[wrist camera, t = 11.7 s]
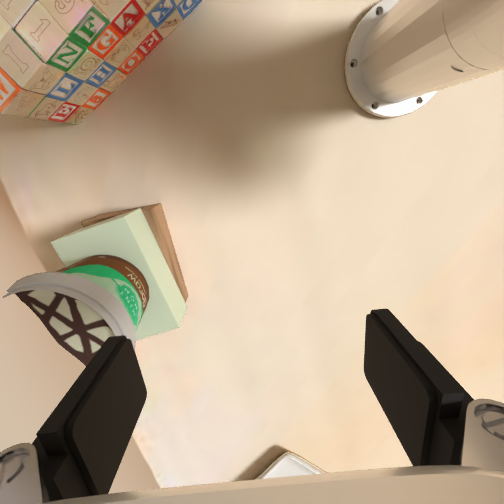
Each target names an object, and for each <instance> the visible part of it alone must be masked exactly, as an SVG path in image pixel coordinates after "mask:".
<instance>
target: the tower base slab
mask: <svg viewBox="0 0 504 504" xmlns="http://www.w3.org/2000/svg"><path fill="white" fill-rule="evenodd" d="M139 208H141V210H142V212H143V214H144V216H145V219H146V221H147V223H148V225H149V227H150V229H151V231H152V233H153V235H154V238H155V240H156V242H157V244H158V246H159V248H160V250H161V252H162V254H163V257H164V259H165V261H166V263H167V265H168V267H169V269H170V271H171V274H172V276H173V278H174V280H175V282H176V284H177V286H178V288H179V290H180V293H181V295H182V297H183V299H184V301H185V302H186V300H187V297H188V293H187V289H186V286H185V283H184V279H183V276H182V272H181V269H180V266H179V262H178V259H177V256H176V252H175V249H174V246H173V242H172V239H171V236H170V232H169V229H168V225H167V222H166V219H165V215H164V212H163V209H162V205H161V203H159V204H154V205H148V206H143V207H138V208H133V209H127V210H122V211H117V212H112V213H106V214H101V215H98V216H96V217H93V218H91V219H89V220H86V221H84V222H82V225H83V227H86V226H89V225H92V224H95V223H98V222H101V221H104V220H107V219H110V218H113V217H116V216H118V215H121V214H124V213H127V212H130V211H133V210H136V209H139Z"/></svg>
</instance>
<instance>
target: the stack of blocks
mask: <svg viewBox="0 0 504 504" xmlns="http://www.w3.org/2000/svg"><path fill="white" fill-rule="evenodd" d="M201 1H202V0H0V113H2V114H9V115H16V116H25V117H27V118H34V119H40V120H51V121H59V122H65V123H69V124H80V123H81V122H82V121H83V120H84V119H85V118H86V117H87V116H88V115H89V114H90V113H91V112H92V111H93V110H94V109H96V108H97V107H98V106H99V105H100V104H101V103H102V102H103V101H104V100H105V99H106V98H107V97H108V96H109V95H110V94H111V93H112V92H113V91H114V90H115V89H116V88H117V87H118V86H119V85H120V84H121V83H122V82H123V81H124V80H125V79H126V78H127V77H128V74H129V73H131V72H132V70H133V69H134V68H135V67H136V66H137V65H138V64H139V63H140V62H141V61H142V60H143V59H144V58H145V56H147V54H148V53H150V52H151V51H152V50H153V49H154V48H155V46H156V45H158V43H159V42H160V41H161V40H162V39H165V38H166V37H167V36H168V35H169V34H170V33H171V32H172V31H173V30H174V29H175V28H176V27H177V26H178V25H179V24H180V23H181V22H182V20H183V19H184V18H185V17H186V16H187V15H188V14H189V13H190V12H191V11H192V10H193V9H194V8H195V7H196V6H197V5H198V4H199V3H200V2H201Z"/></svg>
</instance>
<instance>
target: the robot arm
mask: <svg viewBox="0 0 504 504" xmlns="http://www.w3.org/2000/svg"><path fill="white" fill-rule="evenodd" d="M375 12H376V13H377V14H378V16H377V15H376V13H375ZM350 63H352V64H353V67H351V66H350ZM500 70H504V0H381V1H380V2H378V3H377V4H376V5H374V6H373V7H372V8H371V9H370V10H369V11H368V12H367V13H366V14H365V16H364V17H363V18H362V19H361V21H360V22H359V23H358V25H357V26H356V28H355V30H354V32H353V34H352V36H351V38H350V41H349V44H348V47H347V51H346V56H345V77H346V82H347V86H348V89H349V91H350V93H351V95H352V97H353V99H354V100H355V101H356V103H357V104H358V105H359V106H360V107H361V108H362V109H364V110H365V111H366V112H368V113H370V114H372V115H374V116H378V117H383V118H393V117H398V116H402V115H405V114H409V113H411V112H413V111H415V110H417V109H419V108H420V107H421V106H423V105H424V104H425V103H427V102H428V101H429V100H430V99H431V98H432V97H433V96H434V94H435V93H436V92H437V91H438V90H441V89H444V88H448V87H451V86H454V85H457V84H460V83H463V82H466V81H469V80H472V79H476V78H479V77H482V76H485V75H488V74H491V73H494V72H497V71H500ZM416 100H417V103H416ZM372 105H374V107H373V109H372ZM364 373H365V376H366V379H367V381H368V382H369V384H370V386H371V388H372V390H373V392H374V394H375V396H376V397H377V399H378V401H379V403H380V405H381V407H382V409H383V411H384V412H385V414H386V416H387V418H388V420H389V422H390V424H391V425H392V427H393V429H394V431H395V433H396V435H397V437H398V439H399V440H400V442H401V444H402V446H403V448H404V450H405V452H406V453H407V455H408V457H409V459H410V461H411V463H412V465H413V466H411V467H396V468H381V469H368V470H356V471H345V472H334V473H322V474H311V475H299V476H288V477H277V478H266V479H255V480H245V481H234V482H223V483H213V484H202V485H192V486H182V487H172V488H162V489H152V490H143V491H132V492H122V493H114V494H108V492H109V490H110V488H111V485H112V482H113V480H114V478H115V475H116V473H117V470H118V468H119V465H120V463H121V460H122V458H123V455H124V453H125V450H126V448H127V445H128V443H129V440H130V438H131V435H132V433H133V430H134V428H135V426H136V423H137V421H138V418H139V416H140V413H141V411H142V408H143V406H144V403H145V401H146V397H147V390H146V387H145V383H144V380H143V377H142V374H141V370H140V367H139V364H138V361H137V357H136V354H135V351H134V348H133V344H132V341H131V339H127V337H126V336H124V335H121V336H111V337H108V338H107V339H106V341H105V342H104V343H103V345H102V346H101V348H100V349H99V350H98V352H97V353H96V354H95V356H94V357H93V358H92V360H91V361H90V362H89V364H88V365H87V366H86V368H85V369H84V370H83V372H82V373H81V375H80V376H79V377H78V379H77V380H76V381H75V383H74V384H73V385H72V387H71V388H70V389H69V391H68V392H67V393H66V395H65V396H64V397H63V399H62V400H61V401H60V403H59V404H58V406H57V407H56V408H55V410H54V411H53V412H52V414H51V415H50V416H49V418H48V419H47V420H46V422H45V423H44V424H43V426H42V427H41V428H40V430H39V431H38V432H37V438H36V439H35V440H34V442H33V443H32V444H30V443H21V444H17V445H14V446H12V447H9V448H7V449H5V450H3V451H2V452H0V504H504V404H503V403H501V402H498V401H494V400H490V399H477V400H474V399H473V398H472V397H471V396H470V395H469V394H468V393H467V392H466V391H465V390H464V388H463V387H462V386H461V385H460V384H459V383H458V382H457V381H456V380H455V379H454V378H453V377H452V375H451V374H450V373H449V372H448V371H447V370H446V369H445V368H444V367H443V366H442V365H441V364H440V362H439V361H438V360H437V359H436V358H435V357H434V356H433V355H432V354H431V353H430V352H429V351H428V349H427V348H426V347H425V346H424V345H423V344H422V343H420V342H418V341H417V340H416V339H415V338H414V337H413V336H412V335H411V334H410V333H409V331H408V330H407V329H406V328H405V327H404V326H403V325H402V324H401V323H400V322H399V320H398V319H397V318H396V317H395V316H394V315H393V314H392V313H391V312H390V311H389V310H388V309H378V310H372V311H371V312H370V314H368V315H367V316H366V333H365V354H364Z"/></svg>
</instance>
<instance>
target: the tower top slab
mask: <svg viewBox="0 0 504 504" xmlns="http://www.w3.org/2000/svg"><path fill="white" fill-rule="evenodd" d="M50 243H51V244H52V246H53V247H54V249H55V251H56V252H57V254H58V256H59V257H60V259H61V260H62V262H63V264H64V265H65V267H67V266H69V265H72V264H74V263H76V262H78V261H80V260H83V259H85V258H87V257H90V256H94V255H113V256H117V257H120V258H123V259H125V260H127V261H129V262H130V263H132V264H133V265H134V266H136V267H137V268H138V269H139V270H140V271H141V273H142V274H143V275H144V277H145V279H146V281H147V284H148V286H149V301H148V304H147V307H146V309H145V312H144V314H143V316H142V318H141V321H140V323H139V325H138V328H137V330H136V332H135V336H136V340H139V339H143V338H146V337H149V336H153V335H156V334H159V333H163V332H166V331H169V330H173V329H176V328H179V327H180V325H181V322H182V319H183V316H184V314H185V311H186V308H187V305H186V303H185V301H184V299H183V297H182V295H181V293H180V290H179V288H178V286H177V284H176V282H175V280H174V278H173V276H172V274H171V271H170V269H169V267H168V265H167V263H166V261H165V259H164V257H163V254H162V252H161V250H160V248H159V246H158V244H157V242H156V240H155V238H154V235H153V233H152V231H151V229H150V227H149V225H148V223H147V221H146V219H145V216H144V214H143V212H142V210H141V208H139V209H136V210H133V211H130V212H127V213H124V214H121V215H118V216H116V217H113V218H110V219H107V220H104V221H101V222H98V223H95V224H92V225H89V226H86V227H84V228H81V229H78V230H75V231H73V232H71V233H69V234H66V235H64V236H62V237H60V238H58V239H56V240H53V241H51V242H50Z"/></svg>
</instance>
